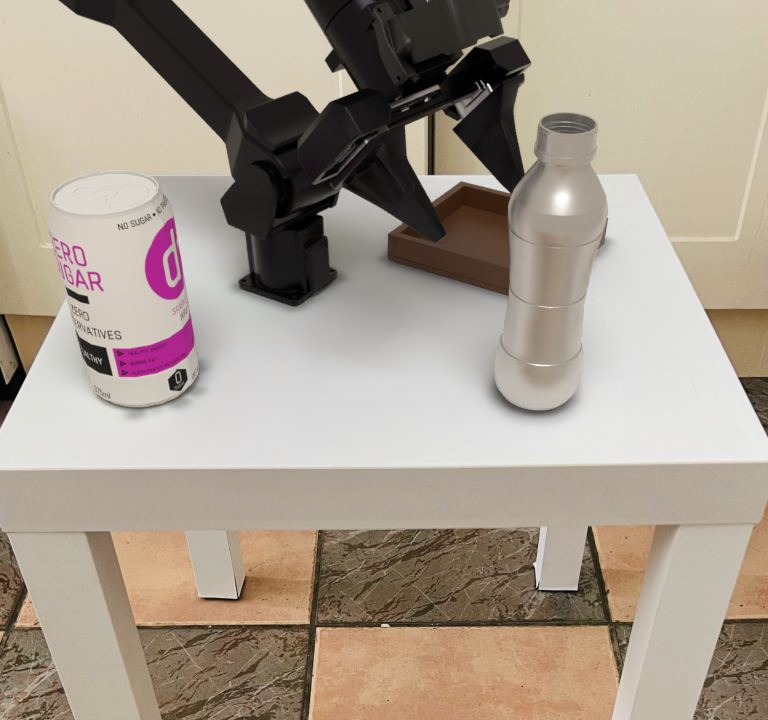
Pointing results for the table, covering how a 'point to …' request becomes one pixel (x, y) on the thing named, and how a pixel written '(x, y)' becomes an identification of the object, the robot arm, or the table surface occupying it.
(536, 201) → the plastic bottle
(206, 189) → the table surface
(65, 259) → the white soda can
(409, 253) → the tray
